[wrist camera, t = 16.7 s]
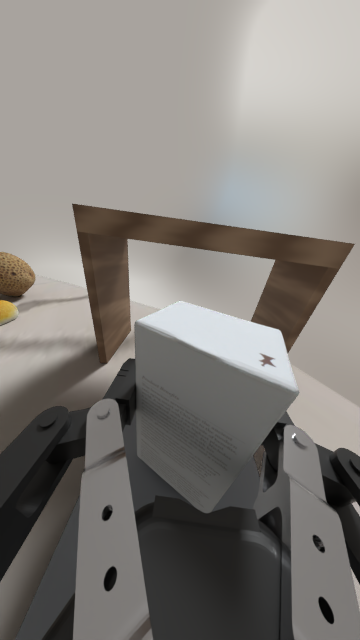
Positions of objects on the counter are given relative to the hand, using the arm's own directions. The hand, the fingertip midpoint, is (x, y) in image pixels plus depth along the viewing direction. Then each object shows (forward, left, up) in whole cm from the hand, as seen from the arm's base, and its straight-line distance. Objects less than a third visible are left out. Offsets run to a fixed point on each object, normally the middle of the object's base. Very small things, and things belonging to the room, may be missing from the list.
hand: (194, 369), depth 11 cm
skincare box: (+1, -2, -7) cm, 8 cm away
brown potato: (-48, -1, -8) cm, 49 cm away
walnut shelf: (-6, +10, -8) cm, 14 cm away
